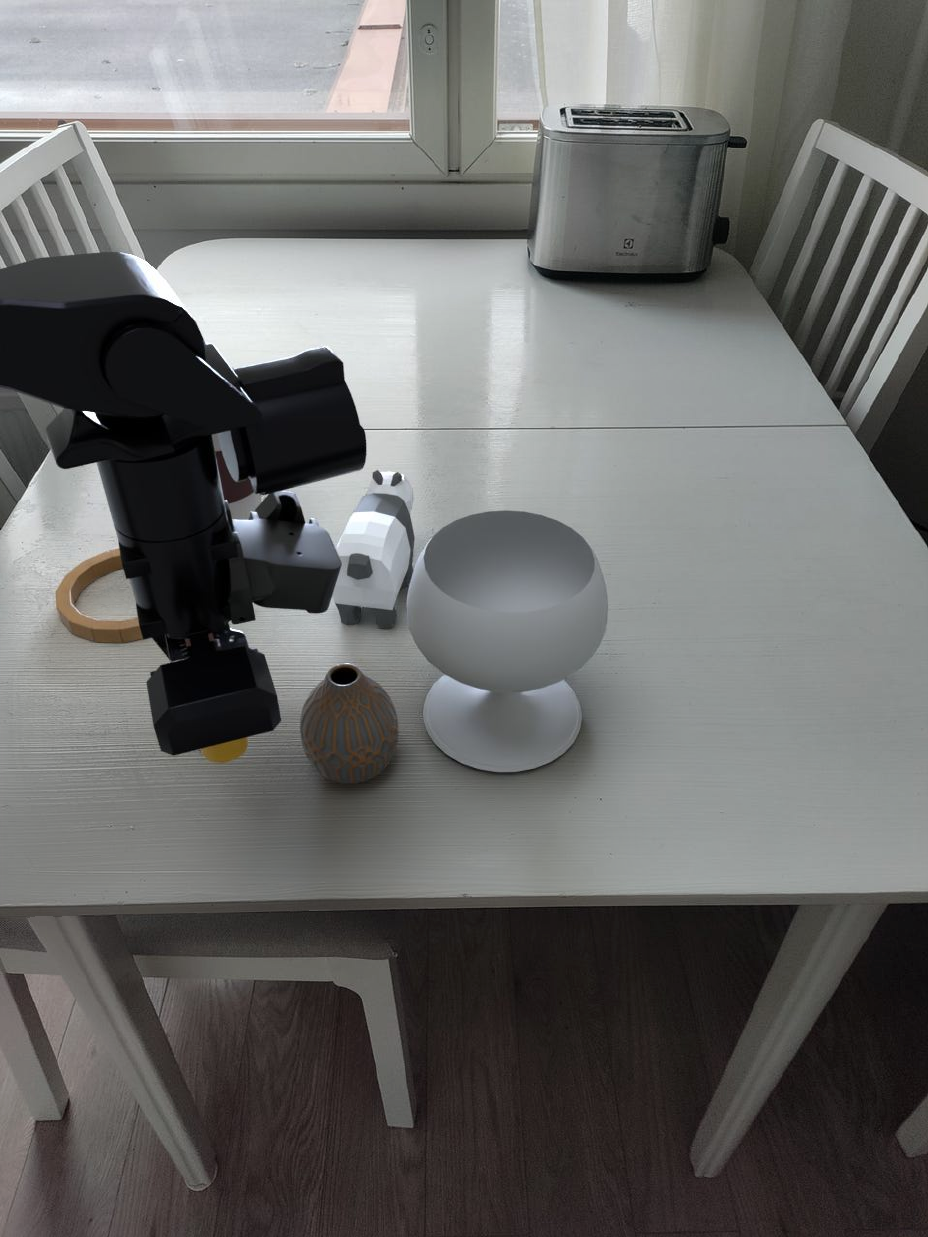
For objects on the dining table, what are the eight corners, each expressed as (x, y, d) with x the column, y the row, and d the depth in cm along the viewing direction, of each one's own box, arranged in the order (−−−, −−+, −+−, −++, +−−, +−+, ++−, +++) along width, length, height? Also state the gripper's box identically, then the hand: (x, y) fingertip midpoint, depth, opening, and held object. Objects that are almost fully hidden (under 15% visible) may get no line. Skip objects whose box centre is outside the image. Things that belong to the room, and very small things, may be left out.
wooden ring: (140, 658, 78) (136, 645, 77) (30, 619, 82) (25, 605, 81) (226, 578, 86) (223, 565, 86) (122, 546, 90) (118, 533, 89)
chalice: (546, 638, 80) (558, 485, 71) (626, 755, 71) (653, 596, 61) (387, 678, 77) (377, 523, 67) (448, 808, 67) (447, 648, 57)
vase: (355, 815, 66) (346, 727, 60) (285, 768, 69) (270, 681, 64) (419, 756, 70) (416, 668, 65) (350, 714, 74) (341, 627, 68)
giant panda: (394, 639, 80) (388, 546, 74) (330, 631, 81) (320, 539, 75) (429, 540, 91) (427, 451, 85) (373, 533, 92) (367, 446, 86)
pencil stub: (230, 769, 60) (205, 664, 55) (191, 754, 61) (163, 649, 55) (257, 737, 62) (236, 633, 57) (219, 723, 63) (195, 619, 58)
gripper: (366, 582, 46) (383, 794, 56) (284, 406, 59) (309, 603, 69) (124, 634, 43) (188, 848, 53) (95, 437, 56) (151, 638, 66)
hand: (217, 719), depth 60 cm, fingers closed on pencil stub, 3 cm apart
